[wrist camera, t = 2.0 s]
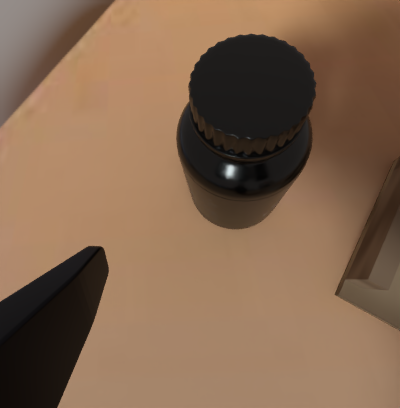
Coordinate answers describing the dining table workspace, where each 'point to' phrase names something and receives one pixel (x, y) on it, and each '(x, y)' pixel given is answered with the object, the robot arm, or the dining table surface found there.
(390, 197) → the walnut well
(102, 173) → the dining table surface
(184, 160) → the supplement bottle
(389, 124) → the dining table surface
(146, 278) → the dining table surface
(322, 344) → the dining table surface
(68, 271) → the robot arm
